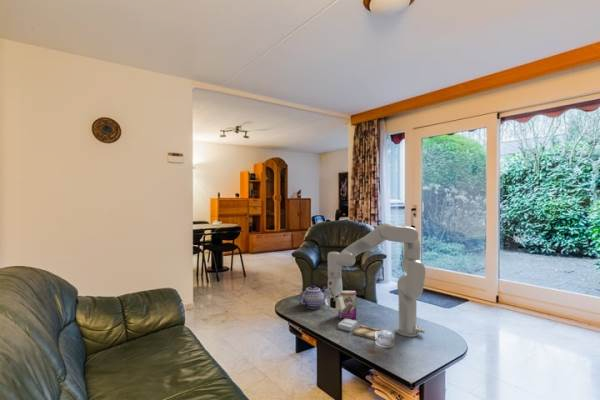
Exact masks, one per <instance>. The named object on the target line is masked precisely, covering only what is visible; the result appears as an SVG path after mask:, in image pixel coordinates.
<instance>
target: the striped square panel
mask: <svg viewBox="0 0 600 400" xmlns="http://www.w3.org/2000/svg"><path fill="white" fill-rule="evenodd" d="M358 326H359V324H358V321H357V320H356V319H348V318H343V319H342V320H341V321H340V322H338V324H337V328H338V329H339V330H343V331H344V330H345V331H346V332H348V331H349V332H353V331H354V330H355V329H356V328H357V327H358Z"/></svg>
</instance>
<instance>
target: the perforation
mask: <svg viewBox="0 0 600 400" xmlns="http://www.w3.org/2000/svg"><path fill="white" fill-rule="evenodd" d="M336 330H337V331H340V332H342V329H339V328H338V329H337V328H336ZM343 332H345V333H347V334H349V333H350V331H349V332H348V331H347V330H345V331H344V330H343Z"/></svg>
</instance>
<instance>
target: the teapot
mask: <svg viewBox="0 0 600 400" xmlns="http://www.w3.org/2000/svg"><path fill="white" fill-rule="evenodd" d="M327 289H328V286H323V287H322V289H321V288H320V287H318V286H316V285H315V284H311V286H308V287H306V288H305V290H304V291H301V292H300V293H299V295H298V299H297V300H298V303H299V305H301V306H304V307H306V308H307V309H311V310H317V309H320V308H321V306H323V304H324V302H325V301H324V300H325V295H326V290H327ZM301 297H302V298H301ZM301 300H302V301H301Z"/></svg>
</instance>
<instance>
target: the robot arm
mask: <svg viewBox="0 0 600 400" xmlns="http://www.w3.org/2000/svg"><path fill="white" fill-rule="evenodd" d="M385 241H388V242H395V243H403V246H404V247H403V248H404V249H403V256H402V262H401V269H402V270H403V272H404V273H405V274H403V275H401V276H400V277H399V278H398V279H397V284H396V285H397V295H398V325H397V326H396V327H395V331H396V333H397V334H399V335H401V336H403V337H410V338H412V337H417V336H420V333H421V334H425V333H426V332H425V331H426V330H425V329H424V328H423V327H420V326H419V324H418V323H417V321H418V320H417V299H418V298H420V296H422V295H423V291H424V287H425V286H424V285H425V278H426V267H425V265H424V264H423V262H422V261H421V260H420V257H421V243H420V242H421V241H420V239H419V231H418V230H417V229H416V228H414V227H412V226H408V225H404V224H403V225H399V226H397V225H392V224H389V223H385V222H384V223H382V224H379V225H378V226H376V228H374V229H373V230H371V231H370V232H369V233H367V234H366V235H364V236H363V237H361V238H359V239H358V240H356V241H354V242H352V243H351V244H349V245H348V246H347V247H345V248H344V249H343V250H341V252H338V251H329V252H327V277H328V278H327V298H328V299H330V307H331V308H336V301H335V297H340V293H342V291H344V290H343V279H342V277H343V276H342V266H343V267H352V266H354V265H355V263H356V257H357V256H358V255H360V254H361V253H364V252H369V251H372V250H374V249H376V248H378V247H379V246H380V245H381V244H382V243H384V242H385Z"/></svg>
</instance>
